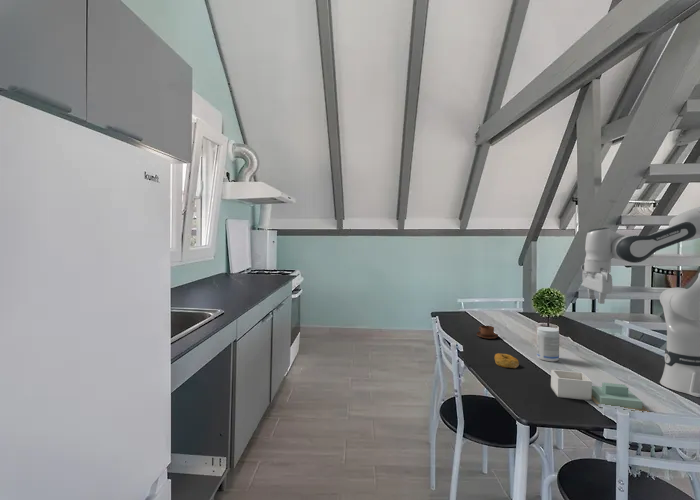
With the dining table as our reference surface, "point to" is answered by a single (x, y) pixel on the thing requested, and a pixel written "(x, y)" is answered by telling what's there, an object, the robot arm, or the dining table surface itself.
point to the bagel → (506, 361)
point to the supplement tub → (548, 343)
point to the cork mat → (624, 407)
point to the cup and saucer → (487, 332)
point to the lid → (616, 395)
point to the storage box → (571, 384)
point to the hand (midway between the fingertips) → (596, 301)
